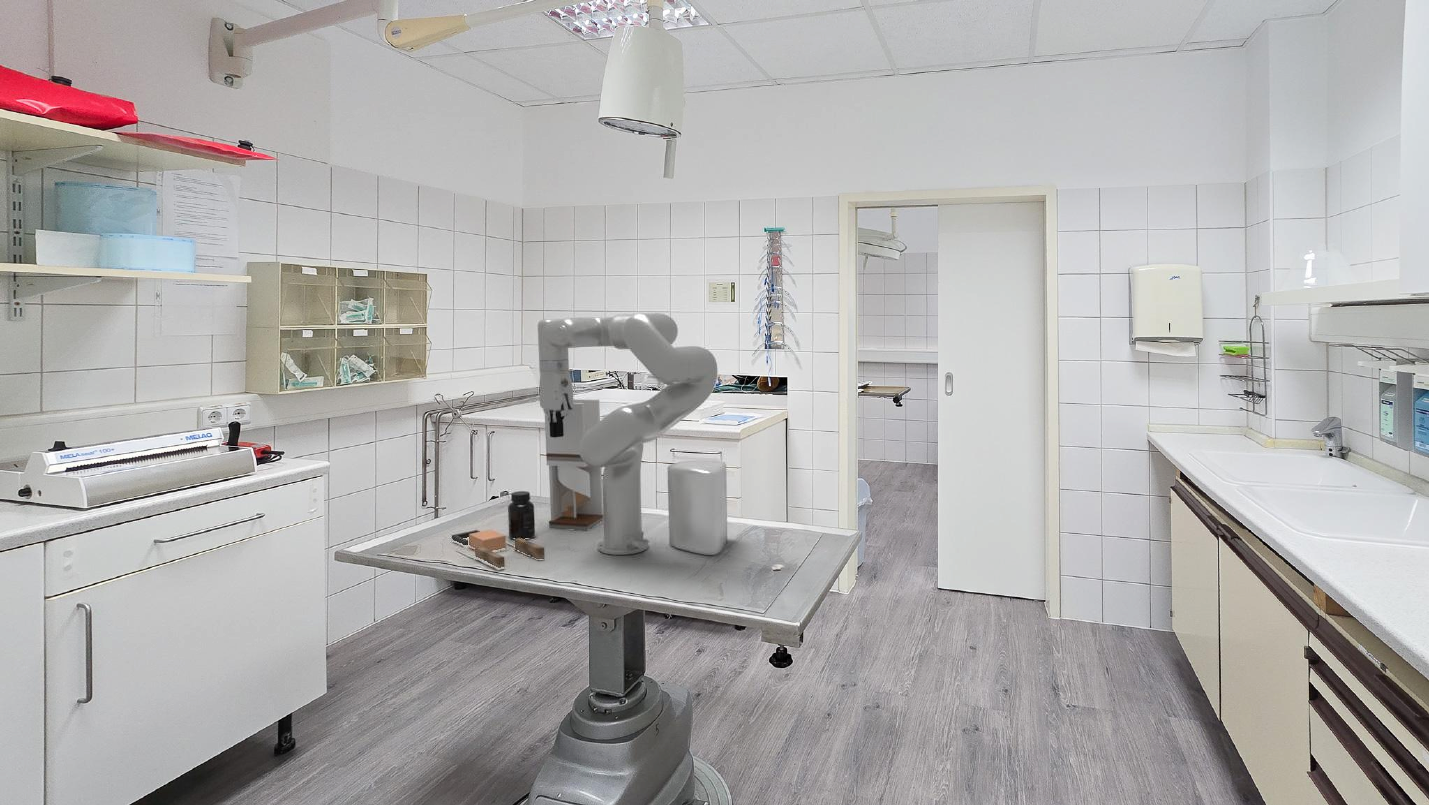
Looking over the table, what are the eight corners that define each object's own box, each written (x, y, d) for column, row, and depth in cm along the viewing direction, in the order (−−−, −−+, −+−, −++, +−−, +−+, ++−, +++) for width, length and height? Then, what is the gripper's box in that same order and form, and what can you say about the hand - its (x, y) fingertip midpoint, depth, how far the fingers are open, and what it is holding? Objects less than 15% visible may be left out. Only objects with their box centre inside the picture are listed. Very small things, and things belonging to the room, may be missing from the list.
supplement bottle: (503, 538, 210) (501, 494, 208) (521, 532, 216) (519, 489, 214) (523, 541, 206) (521, 496, 205) (540, 535, 212) (538, 491, 211)
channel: (544, 559, 191) (544, 547, 191) (498, 571, 183) (498, 558, 183) (520, 549, 200) (519, 537, 199) (475, 559, 192) (475, 547, 191)
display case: (549, 528, 219) (544, 403, 215) (567, 518, 229) (562, 399, 225) (586, 531, 216) (582, 403, 212) (603, 521, 226) (599, 399, 222)
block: (506, 551, 199) (505, 535, 199) (483, 556, 195) (483, 540, 195) (491, 544, 205) (490, 529, 205) (469, 549, 201) (468, 534, 201)
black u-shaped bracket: (490, 542, 206) (490, 535, 206) (465, 548, 201) (465, 541, 201) (477, 536, 212) (476, 530, 212) (452, 541, 207) (451, 535, 207)
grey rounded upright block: (718, 556, 191) (716, 467, 188) (661, 554, 194) (659, 466, 191) (729, 539, 206) (728, 456, 203) (676, 537, 208) (674, 455, 206)
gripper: (582, 367, 202) (584, 438, 204) (551, 365, 213) (554, 432, 215) (556, 368, 197) (559, 441, 199) (526, 366, 208) (529, 435, 210)
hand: (556, 436), depth 207 cm, fingers closed
